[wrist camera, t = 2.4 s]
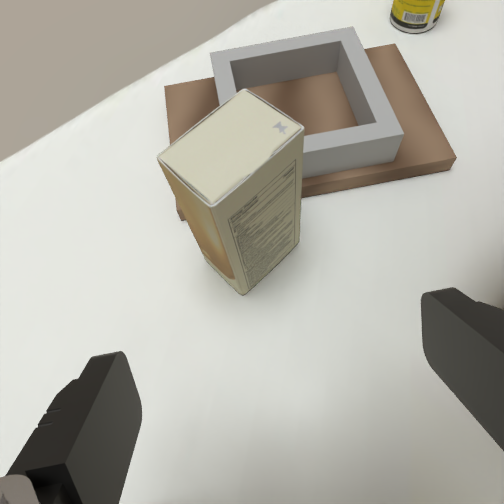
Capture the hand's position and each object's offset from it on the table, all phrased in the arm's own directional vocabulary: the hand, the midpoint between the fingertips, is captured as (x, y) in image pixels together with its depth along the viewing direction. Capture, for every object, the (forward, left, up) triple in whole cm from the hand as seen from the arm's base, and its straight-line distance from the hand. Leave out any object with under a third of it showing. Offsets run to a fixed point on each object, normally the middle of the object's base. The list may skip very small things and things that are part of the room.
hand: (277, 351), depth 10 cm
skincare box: (0, -11, -16) cm, 19 cm away
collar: (-6, -22, -14) cm, 27 cm away
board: (-6, -22, -15) cm, 27 cm away
